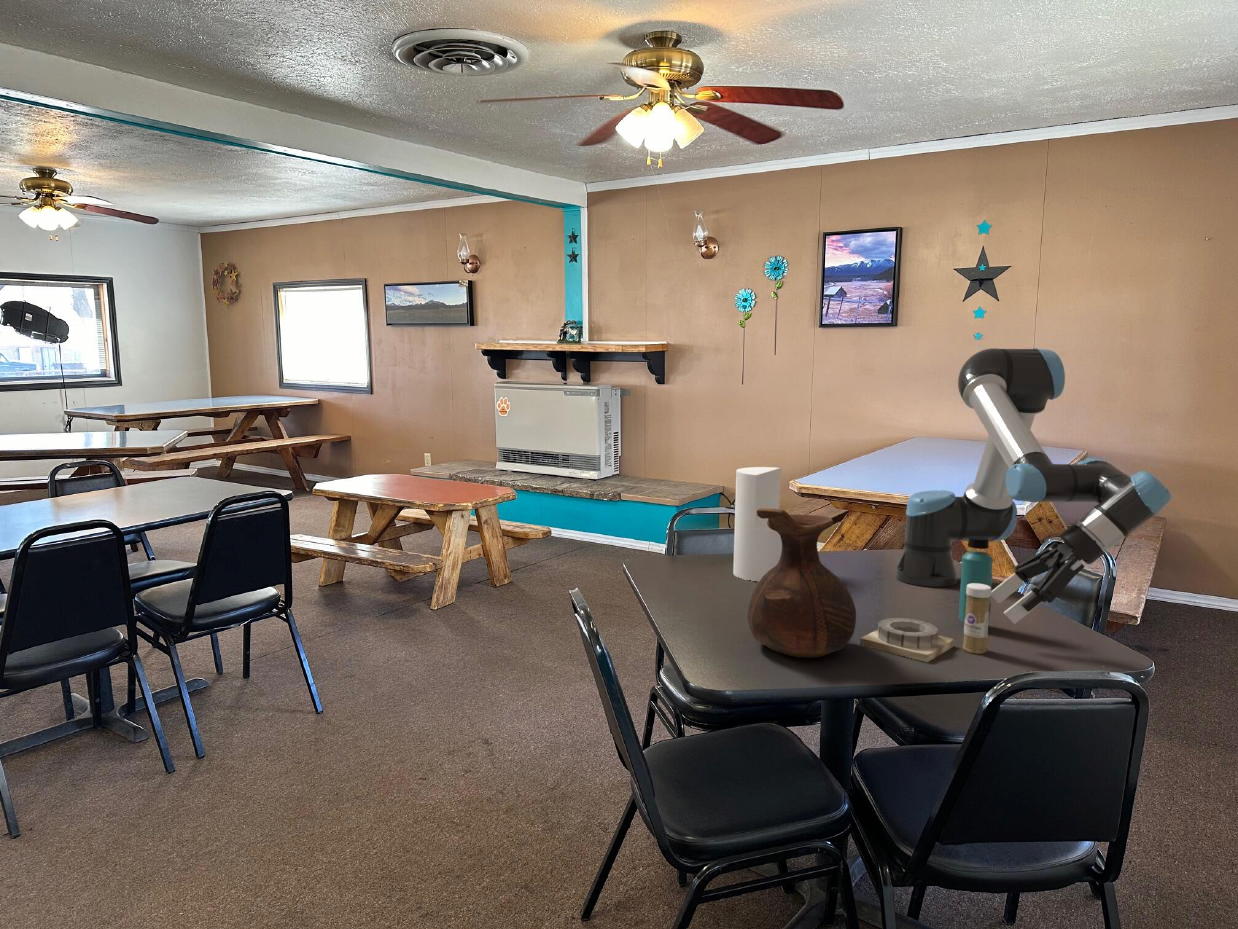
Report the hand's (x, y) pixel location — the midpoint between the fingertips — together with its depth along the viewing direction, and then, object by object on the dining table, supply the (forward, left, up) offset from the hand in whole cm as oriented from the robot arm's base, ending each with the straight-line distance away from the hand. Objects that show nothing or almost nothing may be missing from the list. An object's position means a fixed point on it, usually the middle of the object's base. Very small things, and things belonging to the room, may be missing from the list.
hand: (1000, 608), depth 166 cm
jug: (+25, -30, -10) cm, 40 cm away
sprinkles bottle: (+1, -4, -10) cm, 11 cm away
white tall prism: (-19, -67, -10) cm, 70 cm away
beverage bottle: (-14, -10, -10) cm, 20 cm away
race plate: (+8, -15, -9) cm, 20 cm away
